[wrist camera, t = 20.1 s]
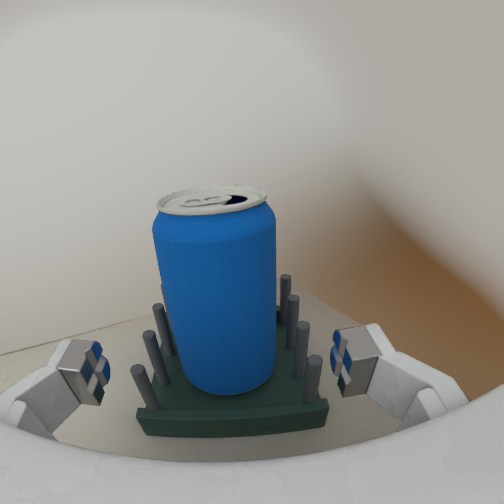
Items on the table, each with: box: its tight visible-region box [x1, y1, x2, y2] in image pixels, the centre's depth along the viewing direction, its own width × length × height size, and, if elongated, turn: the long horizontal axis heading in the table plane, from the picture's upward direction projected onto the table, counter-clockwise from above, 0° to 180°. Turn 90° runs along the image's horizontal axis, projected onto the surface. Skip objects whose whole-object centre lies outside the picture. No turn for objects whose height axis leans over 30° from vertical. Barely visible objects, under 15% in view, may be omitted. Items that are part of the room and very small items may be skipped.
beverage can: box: [152, 185, 276, 395], centre depth 17 cm, size 6×6×12 cm
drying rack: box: [131, 274, 329, 437], centre depth 19 cm, size 11×11×6 cm
